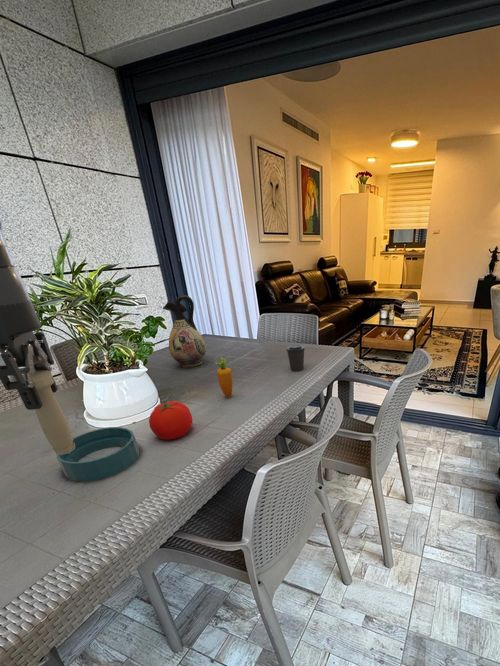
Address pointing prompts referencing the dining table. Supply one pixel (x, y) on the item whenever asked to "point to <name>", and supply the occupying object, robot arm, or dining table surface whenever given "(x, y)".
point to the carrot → (225, 378)
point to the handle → (52, 415)
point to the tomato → (170, 420)
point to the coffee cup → (296, 357)
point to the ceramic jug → (185, 335)
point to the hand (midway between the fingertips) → (43, 399)
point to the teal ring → (105, 464)
